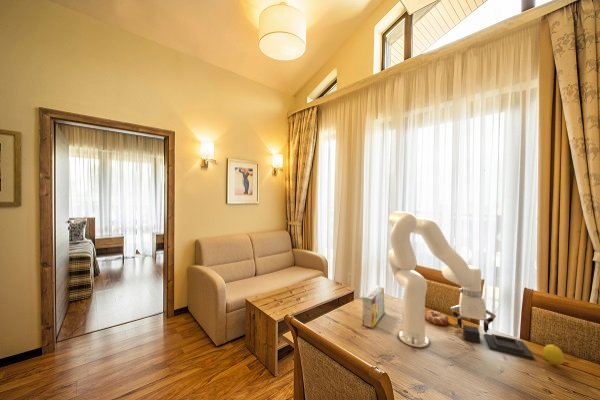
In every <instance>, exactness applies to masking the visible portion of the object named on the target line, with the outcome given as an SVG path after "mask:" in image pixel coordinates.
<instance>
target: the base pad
mask: <svg viewBox="0 0 600 400" xmlns="http://www.w3.org/2000/svg"><path fill="white" fill-rule="evenodd" d="M483 336H484V338H485V341H486V342H487V345H488V348H489V349H490V350H492V351H497V352H501V353H505V354H508V355H513V356H517V357H520V358H521V357H522V358H526V359H529V360H534V356H533V354H532V353H531V352H530V350H529V349H528V346H527V345H526V344H525V342H524V341H521V340H518V339H517V338H513V337H508V336H504V335H499V334H494V333H491V334H488V333H486V332H484V334H483Z"/></svg>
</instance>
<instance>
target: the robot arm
mask: <svg viewBox="0 0 600 400" xmlns="http://www.w3.org/2000/svg"><path fill="white" fill-rule="evenodd" d="M388 223H389V224H390V226H391V227H392V229H391V231H390V234H389V240H390V245H391V249H389V251H388V255H387V257H388V262H389V265H390V268H391V272H392V274H393V277H394V279H395V281H396V283H398V284H399V285H400V286H401V287H402V288H404V292H403V294H402V299H401V301H402V304H401V305H402V319H401V320H402V321H401V323H402V328H401V329H402V330H400V331H399V333H398V337H399V339H400V340H401V342H403V343H404V344H406V345H408V346H410V347H415V348H426V347H428V346H429V344H430V340H429V338H428V337H427V336H426V318H425V313H426V295H427V292H428V291H427V290H428V283H427V280H426V278H425V277H424V276H423V275H422V274H421V273H419V272H418V271H416V270H415V269H416V268H417V265H418V261H417V258H416V257H417V256H416V255H415V251H414V249H413V245H412V242H411V234H416V235H419V236H421V238H422V239H423V241H424V243H425V244H426V246H427V248H428V250H429V252H430V253H431V254H432V255H433V256H434V257H435V258H437V259H438V260H440V261H441V262H443V263H444V264H445V266H443V268H442V269H441V274H442V276H443V277H444V279H446V280H447V281H449V282H451V283H453V284H456V285H457V286H459V287H461V288H458V289H457V290H458V292H460V294H459V299H458V304H457V305H453V306H450V311H451V313H452V314H453V315H454V316H455V317H456V319H457V326H459V328H460V329H463V323H462V318H467V319H473V320H478V321H483V331H484V333H485V334H488V331H489V329H490V328H489V325H490V324H491V323H493V322H494V320H495V318H497V316H496V314H495V313H493V312H492V311H490V310H488V309H487V308H486V301H485V297H484V296H483V295H482V269H481V268H480V267H478V266H474V265H469V264H468V263H467V262H466V260H465V259H464V258H463V257H462V256H461V255H460V254H459V253H458V252H457V251H456V250H455V249H454V248H453V247H452V246H451V245H450V244H449V242H448V240H447V239H446V237H445V235H444V233H443V231H442V230H441V228H440V227H439V225H438V223H437V222H436V221H435V220H433V219H431V218H427V217H420V216H416V215H415V214H413V213H412V212H409V211H398V210H397V211H393V212H391V214H390V215H389V216H388ZM456 310H458V311H459V312H458V313H457V311H456ZM487 315H489V316H488V317H487Z"/></svg>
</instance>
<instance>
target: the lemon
mask: <svg viewBox="0 0 600 400" xmlns="http://www.w3.org/2000/svg"><path fill="white" fill-rule="evenodd" d="M542 352H543V357H544V358H545V360H546V361H547V362H549V363H550V364H551V365H552V366H561V365H562V364H563V363H564V362H565V355H564V353H563V351H562V349H560V347H558V346H557V345H555V344H546V345H545V346H544V348H543V350H542Z"/></svg>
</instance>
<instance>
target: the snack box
mask: <svg viewBox="0 0 600 400" xmlns="http://www.w3.org/2000/svg"><path fill="white" fill-rule="evenodd" d="M385 313H386V311H385V287H384V286H383V285H382V286H381V285H377V284H376V285H374V286H373V287H372V288H370V290H368V292H366V293H365V294H364V295H363V296H362V326H363V327H367V328H371V329H373V328H374V327H375V326H376V324H377V323H378V321H379V320H380V319H381V317H382V316H383V315H384V314H385Z"/></svg>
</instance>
